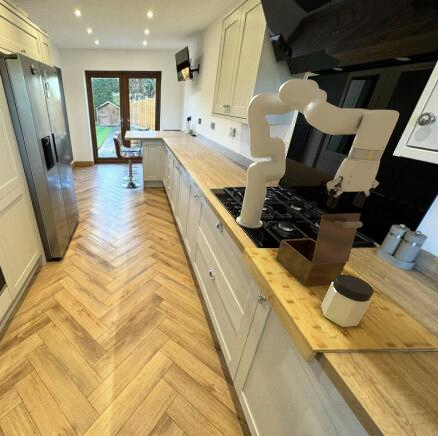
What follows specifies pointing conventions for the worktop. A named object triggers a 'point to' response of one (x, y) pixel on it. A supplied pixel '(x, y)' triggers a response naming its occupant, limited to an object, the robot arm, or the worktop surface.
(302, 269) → the chest
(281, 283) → the worktop surface
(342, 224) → the lid
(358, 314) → the jar
